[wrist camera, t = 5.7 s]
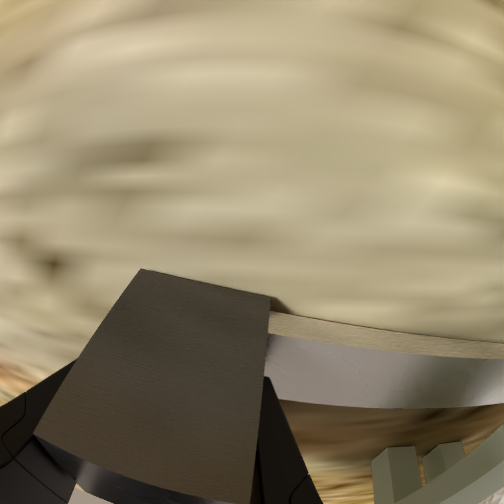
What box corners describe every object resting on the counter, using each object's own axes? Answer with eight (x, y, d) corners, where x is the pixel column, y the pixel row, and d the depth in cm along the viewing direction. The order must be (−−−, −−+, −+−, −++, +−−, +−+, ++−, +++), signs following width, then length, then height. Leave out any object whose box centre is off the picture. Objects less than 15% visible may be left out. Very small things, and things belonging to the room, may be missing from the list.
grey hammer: (530, 390, 11) (561, 466, 6) (144, 355, 11) (85, 491, 6) (569, 339, 9) (613, 416, 4) (140, 268, 9) (32, 433, 4)
